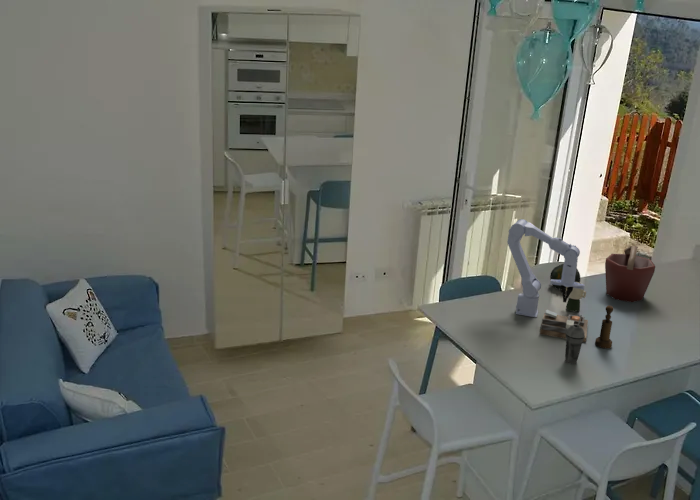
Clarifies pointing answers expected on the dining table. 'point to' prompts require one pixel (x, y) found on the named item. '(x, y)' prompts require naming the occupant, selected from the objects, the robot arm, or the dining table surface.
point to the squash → (557, 275)
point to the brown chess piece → (605, 331)
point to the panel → (560, 326)
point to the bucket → (628, 275)
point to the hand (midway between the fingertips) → (564, 301)
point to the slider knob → (569, 323)
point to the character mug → (575, 299)
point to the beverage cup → (573, 343)
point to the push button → (575, 318)
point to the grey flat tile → (551, 313)
